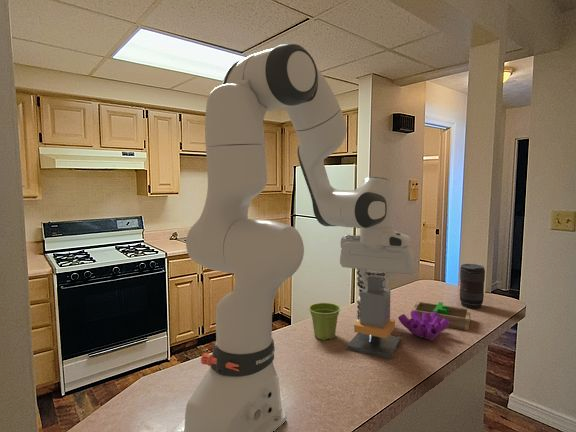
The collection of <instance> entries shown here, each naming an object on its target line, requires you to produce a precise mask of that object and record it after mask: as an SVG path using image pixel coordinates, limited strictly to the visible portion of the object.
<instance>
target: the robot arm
mask: <svg viewBox="0 0 576 432" xmlns="http://www.w3.org/2000/svg"><path fill="white" fill-rule="evenodd" d="M205 106H206V107H205V117H204V118H205V119H204V139H205V140H204V142H205V153H206V171H207V172H206V173H207V189H206V190H207V191H206V192H207V193H206V197H205V198H206V199H205V201H204V202H205V203H204V207H203V210H202V212H201V214H200V216H199V218H198V220H197V221H196V222H195V223H193V225H192V226H191V227H190V229H189V230H188V233H187V236H186V242H185V248H186V251H187V256H188V257H189V259H191V261H193V262H194V263H195V264H197V265H200V266H201V267H204V268H206V269H208V270H211V271H215V272H221V273H228V274H234V277H235V279H234V280H235V281H234V287H233V290H232V291H231V292H228V293H227V294H225V295H224V296H223V297H222V298H221V299H220V300H219V301H218V303H217V305H216V307H215V336H216V337H215V338H216V339H215V343H214V345H213V349H212V354H209V353H207V352H204V353H202V355H201V357H200V363H201V364H202V365H207V366H208V370H207V371H206V372H205V374H204V375H203V378H202V379H200V382H199V383H198V385H197V386H196V388H195V390H194V391H193V393H192V394H191V396H190V397H189V399H188V400H187V403H186V406H185V407H186V408H185V412H184V413H185V414H184V418H183V420H182V421H181V422H180V423H179V424H178V425H177V426H176V427H175V428H174V429H173V430H172V432H181V431H182V432H273V431H274V432H276V431H277V430H278V429H279V428H280V427H281V426H280V425H282V424H283V423H284V422H285V421H286V419H287V414H286V412H285V411H284V410H283V408H282V399H281V388H280V387H281V386H280V379H279V376H278V373H277V371H276V368H275V365H274V360H275V350H276V349H275V341H274V339H273V337H272V335H273V334H272V331H273V329H272V327H273V326H272V325H273V324H272V323H273V308H274V301H275V298H276V297H277V293H278V291H279V289H280V288H281V286H282V284H283V283H284V282H286V280H288V279H289V278H291V277H292V276H294V274H295V273H296V272H297V271H298V270H299V269H300V267H301V265H302V262H303V260H304V255H305V246H304V242H303V241H304V240H303V238H302V236H301V234H300V232H299V231H298V229H296V228H295V227H294V226H291V225H288V224H286V223H283V222H279V221H275V220H272V219H271V220H269V219H256V218H253V219H251V218H249V215H248V214H249V207H250V205H251V202H252V200H253V199H255V198H256V197H257V196H259V195H260V194H261V193H263V191H264V190H265V188H266V187H267V182H268V174H267V173H268V172H267V171H268V170H267V157H266V156H267V155H266V140H265V129H264V128H265V127H264V119H265V116H266V113H267V112H273V111H278V110H281V109H284V110H285V111H286V113H287V114H288V117H289V119H290V122H291V124H292V125H293V126H292V127H293V129H294V131H295V133H296V135H297V139H298V146H297V158H298V163H299V165H300V169H301V171H302V175H303V178H304V180H305V183H306V187H307V189H308V193H309V195H310V198H311V203H312V210H313V214H314V217H315V219H316V221H317V222H318V223H319V224H320V225H322V226H324V227H343V228H353V229H354V228H356V229H359V230H360V231H359V235H355V234H354V235H351V234H345V236H342V237H341V239H340V249H341V250H340V256H339V264H340V266H341V267H342V268H347V269H355V270H357V269H360V272H359V273H360V274H361V276H362V278H363V279H364V285H368V277H367V275H366V273H365V272H367V270H372V271H381V272H383V273H385V276H384V277H386V278H385V280H382V281H381V284H382V285H381V287H382V288H384V289H388V286H389V281H390V279H391V278H392V276H393V274H398V275H399V274H400V275H411V274H412V273H414V271H415V269H416V262H415V261H416V260H415V252H414V249H413V247H412V246H411V241H412V237H411V236H409V235H407V234H404V233H402V232H399V231H396V230H394V223H393V214H394V211H395V210H394V208H395V207H394V206H395V201H394V199H395V198H394V188H393V183H392V181H391V180H389V179H388V178H386V177H380V176H377V177H376V176H368V177H364V179H363V180H362V184H361V185H360V186H359V187H357V188H355V189H354V190H341V189H339V190H338V189H337V188H334V187H333V186H332V185H331V182H330V180H329V176H328V173H327V170H326V166H325V162H324V160H325V159H327V158H328V157H330V156H331V155H333V154H334V153H335V152H336V151H337V150H338V149H339V148H340V147H341V146H342V145H343V143H344V141H345V138H346V137H347V131H348V129H347V122H346V119H345V116H344V114H343V112H342V109H341V107H340V105H339V102H338V100H337V97H336V94H335V93H334V91H333V90H332V88H331V86H330V84H329V83H328V81H327V79H326V78H325V76H324V75H323V73H322V72H321V71H320V70H319V69H318V68H317V65H316V62H315V59H314V58H313V57H312V55H311V54H310V53H309V52H308V51H307V49H306V48H304V47H303V46H302V45H300V44H295V43H285V44H278V45H276V46H275V47H273V48H269V49H268V48H267V49H265V50H263V51H257V52H254V53H253V54H250V55H248V56H247V57H245V58H243V59H241V60H238V61H236V62H234V63H233V64H232V65H231V66H230V67H229V68H228V69H227V71H226V72H225V74H224V75H223V79H222V82H221V85H219V86H217V87H214V88H213V90H211V92H210V93H209V95H208V96H207V100H206V105H205ZM286 422H287V421H286ZM286 422H285V423H286ZM285 423H284V424H285ZM284 424H283V425H284ZM283 425H282V426H283ZM279 426H280V427H279ZM278 427H279V428H278ZM277 428H278V429H277ZM276 429H277V430H276Z"/></svg>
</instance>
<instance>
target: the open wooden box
mask: <svg viewBox="0 0 576 432" xmlns="http://www.w3.org/2000/svg"><path fill="white" fill-rule="evenodd" d="M437 305H438V303H429V302H424V301H416V302H415V304H414V306H413V307H412V309H411V311H418V313H419V316H420V318H421V320H422V313H429V317H430V314H431V312H433V310H434V309H435V307H436V306H437ZM448 306H449V310H448V315H445V314H439V313H438V314H439V317H440V318H442V320H443V319H444V318H445V319H447V320H448V321H449V322H450V324H449V325H448V327H447V328H452V329H458V330H463V331H469V330H470V323H471V310H472V308H466V307H464V308H463V307H457V306H450V305H448ZM410 319H412V318H410Z"/></svg>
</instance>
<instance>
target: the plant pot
mask: <svg viewBox="0 0 576 432" xmlns="http://www.w3.org/2000/svg"><path fill="white" fill-rule="evenodd" d="M308 311H309V312H310V315H311V319H312V326H313V333H314V336H315V338H317V339H319V340H324V341H325V340H328V339H330V340H331V339H334V338H335V337H336V330H337V322H338V317H339V314H340V311H341V306H339V305H337V304H335V303H331V302H330V303H329V302H317V303H313V304H310V306H308Z"/></svg>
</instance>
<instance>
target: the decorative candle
mask: <svg viewBox="0 0 576 432" xmlns="http://www.w3.org/2000/svg"><path fill="white" fill-rule="evenodd" d="M356 270H357V271H356V274H357V277H356V280H357V282H356V285H357V288H358V296H357V297H358V300H357V306H356V307H357V310H356V319H357V320H356V321H357V322H358V321H359V320H360V292H362V291H363V290H364V289H365V288H366V287H367V286H368V285H364V279H363V278H362V276H361V274H360V269H356ZM365 273H366V275H367V277H369V276H370V275H378V276H384V280H385V279H386V278H385V277H386V276H385V272H381V271H372V270H367V272H365ZM357 322H356V323H357Z"/></svg>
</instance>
